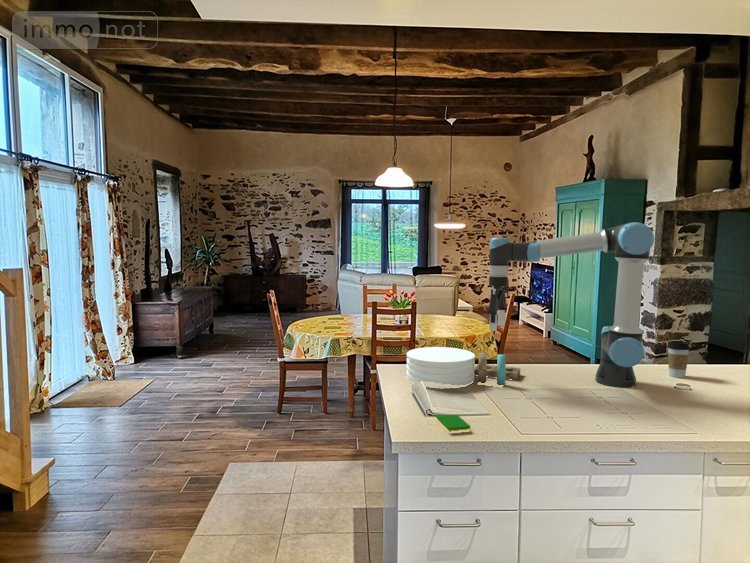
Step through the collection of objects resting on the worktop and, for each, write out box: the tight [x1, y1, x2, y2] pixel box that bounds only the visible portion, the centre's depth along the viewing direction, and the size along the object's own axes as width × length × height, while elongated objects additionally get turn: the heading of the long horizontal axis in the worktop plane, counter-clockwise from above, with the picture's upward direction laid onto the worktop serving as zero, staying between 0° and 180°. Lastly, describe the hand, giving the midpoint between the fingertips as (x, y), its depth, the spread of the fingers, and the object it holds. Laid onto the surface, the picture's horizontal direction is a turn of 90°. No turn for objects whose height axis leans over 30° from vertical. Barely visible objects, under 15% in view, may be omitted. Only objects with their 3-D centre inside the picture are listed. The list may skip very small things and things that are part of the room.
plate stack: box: [406, 346, 476, 386], centre depth 212 cm, size 28×28×12 cm
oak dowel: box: [477, 352, 488, 383], centre depth 208 cm, size 3×3×12 cm
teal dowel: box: [496, 353, 507, 386], centre depth 204 cm, size 3×3×12 cm
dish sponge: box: [435, 414, 471, 432], centre depth 162 cm, size 7×14×2 cm, turn 13°
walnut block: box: [474, 363, 521, 381], centre depth 219 cm, size 18×10×4 cm, turn 65°
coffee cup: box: [667, 340, 691, 379], centre depth 219 cm, size 8×8×15 cm
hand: (497, 328), depth 208 cm, fingers open, 13 cm apart
